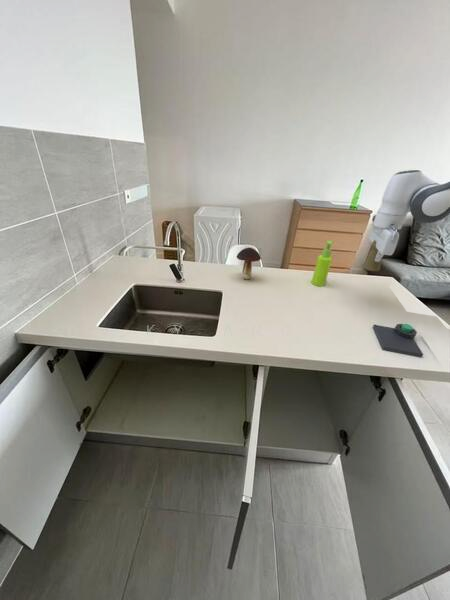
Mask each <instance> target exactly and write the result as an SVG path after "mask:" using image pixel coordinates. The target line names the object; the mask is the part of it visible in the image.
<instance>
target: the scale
mask: <svg viewBox="0 0 450 600" xmlns="http://www.w3.org/2000/svg"><path fill="white" fill-rule="evenodd" d="M403 324H404V323H397V324H396V325H395V327H389V326H385V325H378V324H373V325H372V330H373V332H374V334H375V337H376V339H377V341H378V344H379V346H380V349H381V350H382V351H385V352H390V353H395V354H401V355H407V356H411V357H417V358H423V356H424V353H423V351H422V350H421V348H420V346H419V345H418V343H417V342H416V340H415V337H416V336H417V334H418V332H417V330H416V329H415V328H413V330H412V331H411V333H408V332H405V331H403V330H402V329H401V327H402V325H403Z"/></svg>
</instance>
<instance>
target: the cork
mask: <svg viewBox="0 0 450 600" xmlns="http://www.w3.org/2000/svg"><path fill="white" fill-rule="evenodd" d="M370 246H371V248H372V249H370V251H369V252H368V255H367V256H366V257H365V260H364V262H363V264H362V266H361V267H362V268H363V269H364V270H366V271H370V272H379V271H380V269H381V265H382V260H383V257H382V258H381V260H380V262H376V261H375V260H374V258H375V256H376V255H377V253H378V249H377V248H376V241H375V240H374V241H373V242H371V245H370Z"/></svg>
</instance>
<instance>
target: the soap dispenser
mask: <svg viewBox="0 0 450 600" xmlns="http://www.w3.org/2000/svg"><path fill="white" fill-rule="evenodd" d="M333 242H334V240H331V239H328V240H327V241H326V243H325V244H326V245H325V248H323V249H322V252H321V254H319V255H318V256H317V260H316V263H315V267H314V271H313V275H312V279H311V284H312V285H313V286H315V287H324V286H325V285H326V281H327V278H328V275H329V272H330V267H331V265H332V261H333V257H332V256H331V255H332V254H331V253H332V249H331V245H332V244H333Z"/></svg>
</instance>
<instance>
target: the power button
mask: <svg viewBox="0 0 450 600" xmlns="http://www.w3.org/2000/svg"><path fill="white" fill-rule="evenodd" d="M402 324H403V325H402V327H401V329H402V330H403V331H405V332H408V333H411V331H412V330H413V329H414V327H413V326H412V325H411V324H408V323H402Z"/></svg>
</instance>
